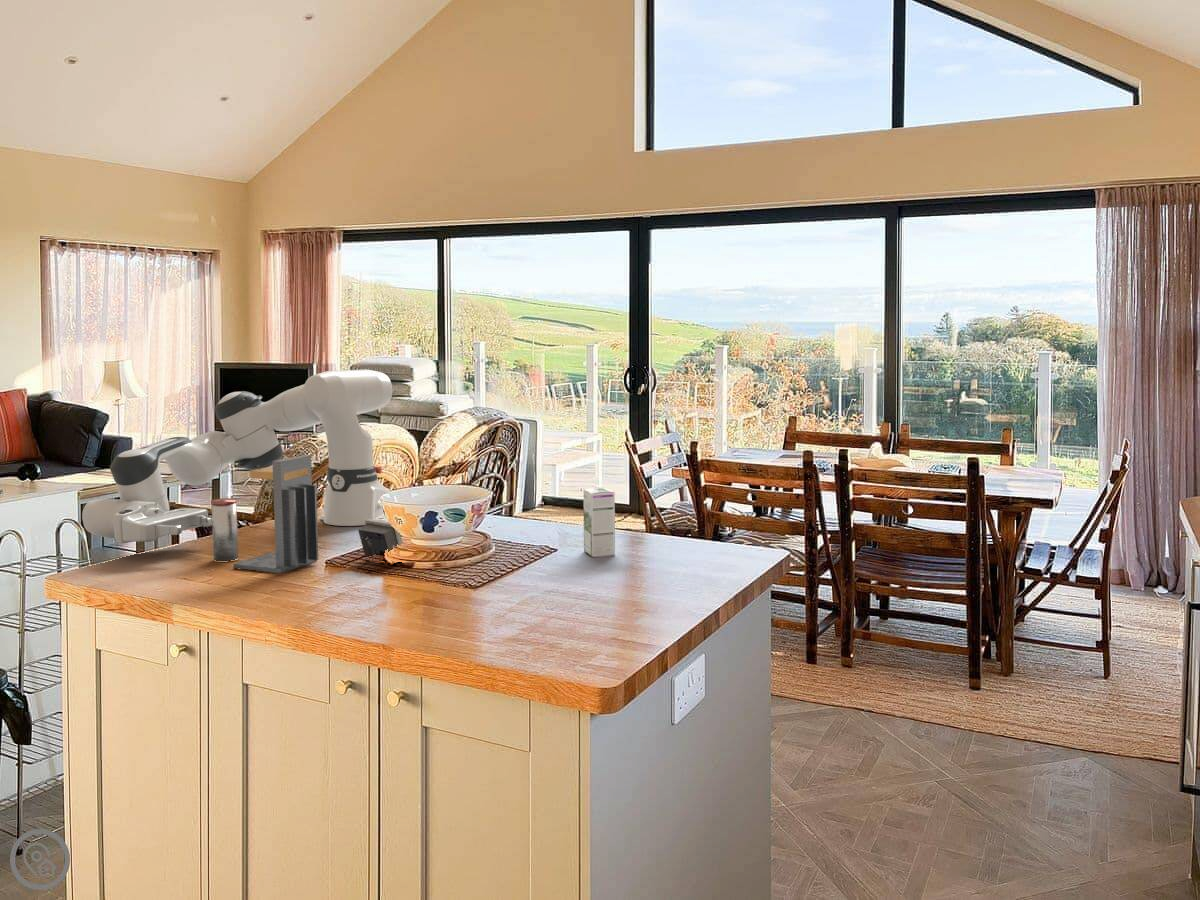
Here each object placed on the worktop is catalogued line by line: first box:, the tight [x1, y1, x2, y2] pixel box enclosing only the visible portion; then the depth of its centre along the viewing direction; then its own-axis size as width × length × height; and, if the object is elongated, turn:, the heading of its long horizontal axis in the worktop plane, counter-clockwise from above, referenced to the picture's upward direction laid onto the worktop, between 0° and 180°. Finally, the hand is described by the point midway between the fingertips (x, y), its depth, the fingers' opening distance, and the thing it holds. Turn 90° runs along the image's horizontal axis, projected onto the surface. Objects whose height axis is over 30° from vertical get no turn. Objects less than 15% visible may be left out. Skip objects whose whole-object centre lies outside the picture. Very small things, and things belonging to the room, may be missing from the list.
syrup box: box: [583, 487, 616, 558], centre depth 225 cm, size 6×6×14 cm
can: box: [210, 497, 239, 561], centre depth 218 cm, size 5×5×13 cm
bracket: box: [233, 454, 319, 575], centre depth 212 cm, size 12×14×23 cm
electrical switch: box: [357, 519, 403, 558], centre depth 216 cm, size 9×5×9 cm, turn 57°
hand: (195, 526), depth 220 cm, fingers open, 8 cm apart
